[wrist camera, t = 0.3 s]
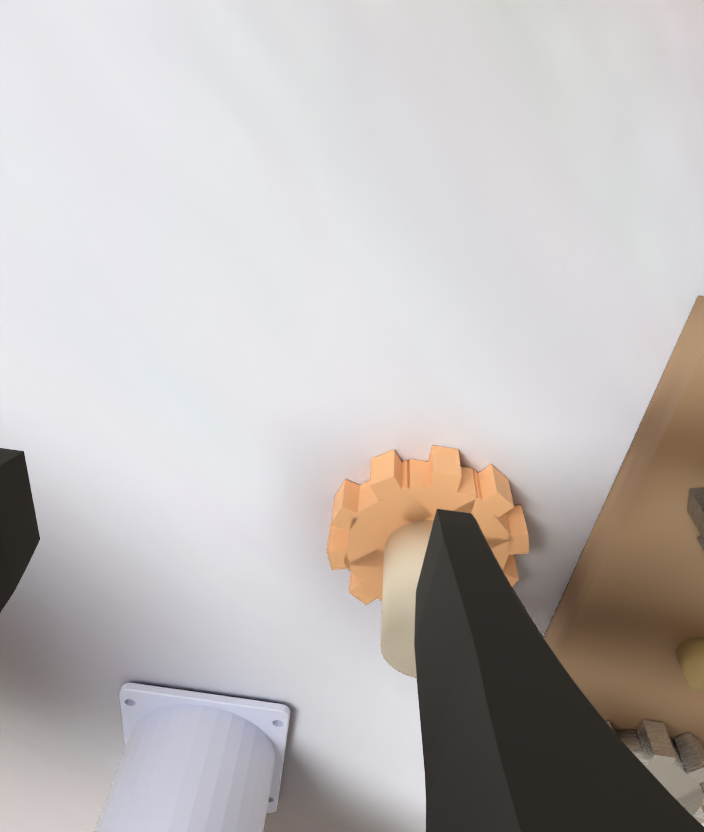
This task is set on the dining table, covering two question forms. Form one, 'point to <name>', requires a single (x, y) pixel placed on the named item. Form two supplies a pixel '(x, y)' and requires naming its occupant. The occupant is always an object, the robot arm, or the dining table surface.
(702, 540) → the gear
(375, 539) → the loose gear
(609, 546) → the gear board
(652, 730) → the gear
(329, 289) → the dining table surface
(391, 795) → the dining table surface
